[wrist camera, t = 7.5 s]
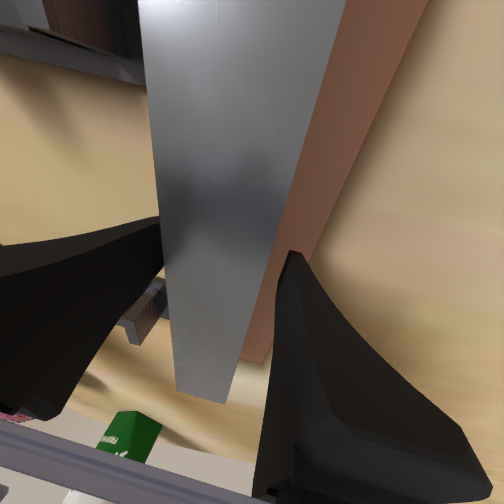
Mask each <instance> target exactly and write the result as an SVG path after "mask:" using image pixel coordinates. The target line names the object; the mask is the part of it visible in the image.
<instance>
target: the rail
mask: <svg viewBox="0 0 504 504" xmlns="http://www.w3.org/2000/svg"><path fill="white" fill-rule="evenodd" d="M345 4H346V0H138V7H139V17H140V27H141V37H142V47H143V57H144V67H145V77H146V87H147V97H148V107H149V117H150V127H151V137H152V148H153V158H154V168H155V178H156V188H157V198H158V208H159V218H160V228H161V238H162V248H163V258H164V268H165V278H166V288H167V298H168V308H169V318H170V328H171V338H172V348H173V358H174V368H175V378H176V388H177V391H180V392H183V393H187V394H190V395H194V396H197V397H200V398H204V399H207V400H211V401H214V402H217V403H221V404H224V405H225V403H226V400H227V396H228V393H229V390H230V386H231V383H232V380H233V376H234V373H235V370H236V367H237V363H238V360H239V357H240V353H241V350H242V347H243V343H244V340H245V337H246V333H247V330H248V327H249V323H250V320H251V317H252V313H253V310H254V307H255V303H256V300H257V297H258V293H259V290H260V287H261V283H262V280H263V277H264V273H265V270H266V267H267V263H268V260H269V257H270V253H271V250H272V247H273V243H274V240H275V237H276V233H277V230H278V227H279V223H280V220H281V217H282V213H283V210H284V207H285V203H286V200H287V197H288V193H289V190H290V187H291V183H292V180H293V177H294V173H295V170H296V167H297V163H298V160H299V157H300V153H301V150H302V147H303V143H304V140H305V137H306V133H307V130H308V127H309V123H310V120H311V117H312V113H313V110H314V107H315V103H316V100H317V97H318V93H319V90H320V87H321V83H322V80H323V77H324V73H325V70H326V67H327V63H328V60H329V57H330V54H331V50H332V47H333V44H334V40H335V37H336V34H337V30H338V27H339V24H340V20H341V17H342V14H343V10H344V7H345Z"/></svg>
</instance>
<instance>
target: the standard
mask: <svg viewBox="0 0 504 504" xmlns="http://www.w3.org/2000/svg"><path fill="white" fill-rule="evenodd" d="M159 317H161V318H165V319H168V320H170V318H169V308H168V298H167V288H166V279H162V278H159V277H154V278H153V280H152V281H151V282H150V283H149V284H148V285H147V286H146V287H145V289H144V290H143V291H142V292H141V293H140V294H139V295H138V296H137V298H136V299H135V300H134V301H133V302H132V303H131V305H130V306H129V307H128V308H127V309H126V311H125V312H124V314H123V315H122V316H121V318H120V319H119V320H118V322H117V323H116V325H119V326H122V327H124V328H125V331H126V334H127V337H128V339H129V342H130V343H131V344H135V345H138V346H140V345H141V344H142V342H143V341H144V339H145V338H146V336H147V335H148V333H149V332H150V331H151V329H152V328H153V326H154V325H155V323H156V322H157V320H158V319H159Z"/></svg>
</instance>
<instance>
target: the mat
mask: <svg viewBox="0 0 504 504" xmlns="http://www.w3.org/2000/svg"><path fill="white" fill-rule="evenodd" d="M427 2H428V0H346V4H345V7H344V10H343V14H342V17H341V20H340V24H339V27H338V30H337V34H336V37H335V40H334V44H333V47H332V50H331V54H330V57H329V60H328V63H327V67H326V70H325V73H324V77H323V80H322V83H321V87H320V90H319V93H318V97H317V100H316V103H315V107H314V110H313V113H312V117H311V120H310V123H309V127H308V130H307V133H306V137H305V140H304V143H303V147H302V150H301V153H300V157H299V160H298V163H297V167H296V170H295V173H294V177H293V180H292V183H291V187H290V190H289V193H288V197H287V200H286V203H285V207H284V210H283V213H282V217H281V220H280V223H279V227H278V230H277V233H276V237H275V240H274V243H273V247H272V250H271V253H270V257H269V260H268V263H267V267H266V270H265V273H264V277H263V280H262V283H261V287H260V290H259V293H258V297H257V300H256V303H255V307H254V310H253V313H252V317H251V320H250V323H249V327H248V330H247V333H246V337H245V340H244V343H243V347H242V350H241V353H240V357H239V358H241V359H244V360H248V361H252V362H255V363H259V364H262V363H263V361H264V358H265V356H266V354H267V352H268V350H269V347H270V345H271V343H272V341H273V339H274V318H275V297H276V290H277V284H278V279H279V276H280V274H281V271H282V268H283V266H284V263H285V260H286V257H287V255H288V252H289V250H293V251H297V252H301V253H302V254H303V256H304V257H305V259H306V261H307V263H308V262H309V260H310V258H311V256H312V253H313V251H314V249H315V247H316V245H317V242H318V240H319V238H320V236H321V234H322V231H323V229H324V227H325V225H326V223H327V220H328V218H329V216H330V214H331V212H332V210H333V207H334V205H335V203H336V201H337V199H338V196H339V194H340V192H341V190H342V188H343V185H344V183H345V181H346V179H347V177H348V175H349V172H350V170H351V168H352V166H353V164H354V161H355V159H356V157H357V155H358V153H359V150H360V148H361V146H362V144H363V142H364V140H365V137H366V135H367V133H368V131H369V129H370V126H371V124H372V122H373V120H374V118H375V115H376V113H377V111H378V109H379V107H380V104H381V102H382V100H383V98H384V96H385V94H386V91H387V89H388V87H389V85H390V83H391V80H392V78H393V76H394V74H395V72H396V69H397V67H398V65H399V63H400V61H401V59H402V56H403V54H404V52H405V50H406V48H407V45H408V43H409V41H410V39H411V37H412V34H413V32H414V30H415V28H416V26H417V24H418V21H419V19H420V17H421V15H422V13H423V10H424V8H425V6H426V4H427Z"/></svg>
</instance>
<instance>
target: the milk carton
mask: <svg viewBox="0 0 504 504" xmlns="http://www.w3.org/2000/svg"><path fill="white" fill-rule="evenodd" d="M161 429H162V425H160V424H158V423H157V422H155V421H153V420H151V419H150V418H148V417H146V416H144V415H143V414H141V413H139V412H137V411H133V412H117V414H116V416H115V417H114V419H113V421H112V422H111V424H110V425H109V427H108V429H107V430H106V432H105V434H104V435H103V437H102V438H101V440H100V442H99V443H98V445H97V447H96V448H95V449H99V450H102V451H105V452H108V453H111V454H115V455H118V456H121V457H124V458H127V459H131V460H134V461H137V462H140V463H143V464H145V462H146V460H147V458H148V455H149V453H150V451H151V449H152V447H153V445H154V443H155V441H156V439H157V437H158V435H159V433H160V431H161ZM62 504H116V503H113V502H109V501H106V500H103V499H100V498H97V497H94V496H91V495H88V494H85V493H82V492H78V491H75V490H72V489H70V491H69V493H68V494H67V496H66V498H65V499H64V501H63V503H62Z"/></svg>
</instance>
